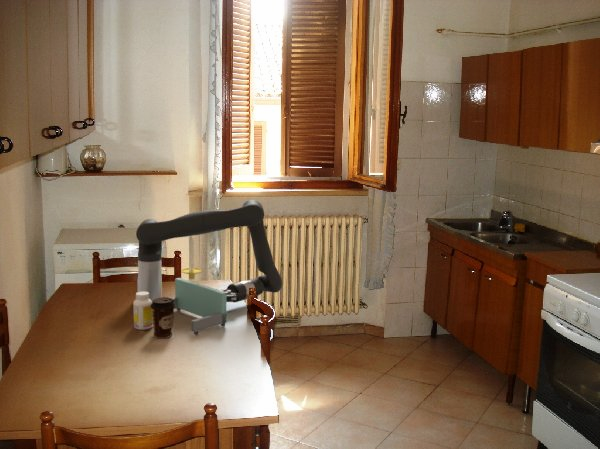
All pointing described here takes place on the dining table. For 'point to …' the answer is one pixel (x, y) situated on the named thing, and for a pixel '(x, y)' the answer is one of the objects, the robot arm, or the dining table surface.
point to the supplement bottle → (142, 311)
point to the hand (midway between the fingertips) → (207, 299)
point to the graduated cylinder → (191, 262)
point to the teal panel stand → (200, 304)
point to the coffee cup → (162, 316)
